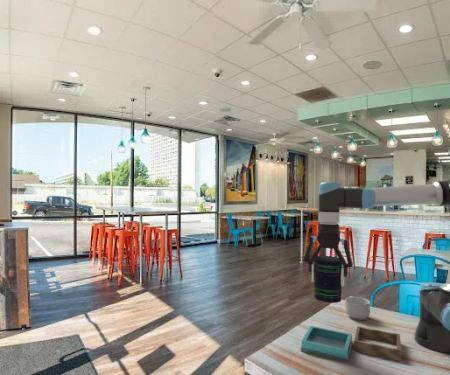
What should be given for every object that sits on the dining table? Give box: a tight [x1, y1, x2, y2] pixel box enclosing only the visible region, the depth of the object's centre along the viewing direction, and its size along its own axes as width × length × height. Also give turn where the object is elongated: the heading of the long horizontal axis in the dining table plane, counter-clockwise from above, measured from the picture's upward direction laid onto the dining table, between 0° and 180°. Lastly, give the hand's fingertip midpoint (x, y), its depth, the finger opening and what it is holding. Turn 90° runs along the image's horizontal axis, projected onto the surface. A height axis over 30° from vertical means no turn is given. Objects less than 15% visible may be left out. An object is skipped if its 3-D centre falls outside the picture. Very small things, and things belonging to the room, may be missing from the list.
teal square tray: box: [300, 325, 354, 363], centre depth 116 cm, size 16×16×4 cm
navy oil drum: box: [313, 255, 343, 304], centre depth 117 cm, size 10×10×15 cm
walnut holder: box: [353, 325, 402, 362], centre depth 117 cm, size 15×15×4 cm
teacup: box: [344, 295, 371, 321], centre depth 148 cm, size 14×11×8 cm
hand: (327, 283), depth 117 cm, fingers closed on navy oil drum, 10 cm apart
